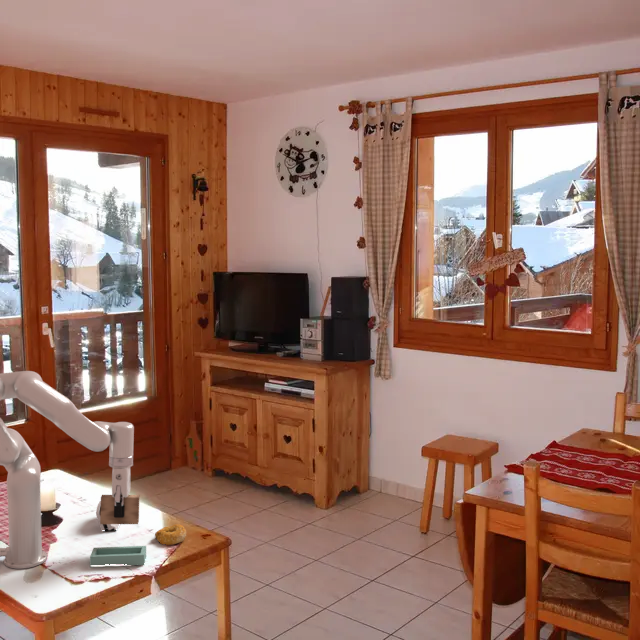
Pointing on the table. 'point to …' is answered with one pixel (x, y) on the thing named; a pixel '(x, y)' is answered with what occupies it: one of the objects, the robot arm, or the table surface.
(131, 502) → the brown wooden board
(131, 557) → the green rectangular tray
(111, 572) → the table surface
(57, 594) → the table surface
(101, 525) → the white curved piece
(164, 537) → the bagel
